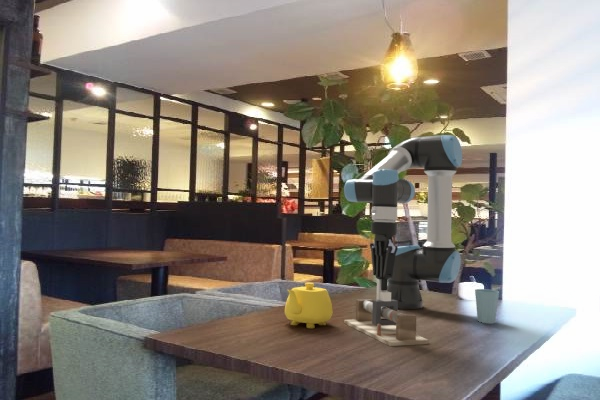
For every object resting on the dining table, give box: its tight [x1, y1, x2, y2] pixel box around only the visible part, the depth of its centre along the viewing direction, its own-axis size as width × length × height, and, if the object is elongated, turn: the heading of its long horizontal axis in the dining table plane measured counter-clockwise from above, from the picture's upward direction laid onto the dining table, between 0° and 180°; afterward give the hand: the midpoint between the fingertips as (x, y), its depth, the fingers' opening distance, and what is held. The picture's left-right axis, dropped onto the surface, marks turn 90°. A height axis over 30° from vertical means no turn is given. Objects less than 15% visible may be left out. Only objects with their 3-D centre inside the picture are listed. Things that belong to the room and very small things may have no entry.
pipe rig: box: [343, 298, 430, 347], centre depth 154 cm, size 29×12×8 cm, turn 20°
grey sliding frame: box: [372, 291, 399, 326], centre depth 153 cm, size 2×7×10 cm, turn 110°
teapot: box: [284, 282, 334, 329], centre depth 161 cm, size 14×20×13 cm
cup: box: [474, 288, 500, 324], centre depth 175 cm, size 8×8×10 cm
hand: (381, 300), depth 155 cm, fingers closed
